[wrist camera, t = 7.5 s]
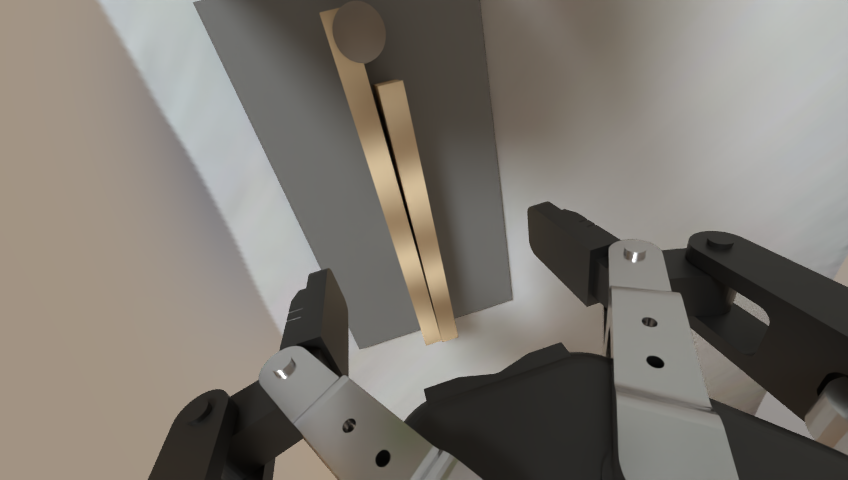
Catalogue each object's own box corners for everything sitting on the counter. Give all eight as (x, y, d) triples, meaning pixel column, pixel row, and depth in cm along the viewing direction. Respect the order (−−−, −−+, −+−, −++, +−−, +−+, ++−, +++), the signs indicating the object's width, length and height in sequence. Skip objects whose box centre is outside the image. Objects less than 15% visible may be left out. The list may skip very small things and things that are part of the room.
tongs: (324, 21, 19) (318, 9, 15) (371, 10, 19) (377, -6, 15) (417, 314, 30) (426, 347, 27) (445, 305, 31) (459, 336, 27)
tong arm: (373, 84, 20) (377, 86, 17) (393, 79, 21) (403, 80, 17) (431, 311, 30) (442, 342, 27) (445, 306, 30) (458, 337, 27)
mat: (197, 4, 18) (193, 2, 17) (469, -60, 19) (472, -64, 18) (359, 344, 31) (359, 349, 31) (509, 295, 33) (512, 299, 32)
